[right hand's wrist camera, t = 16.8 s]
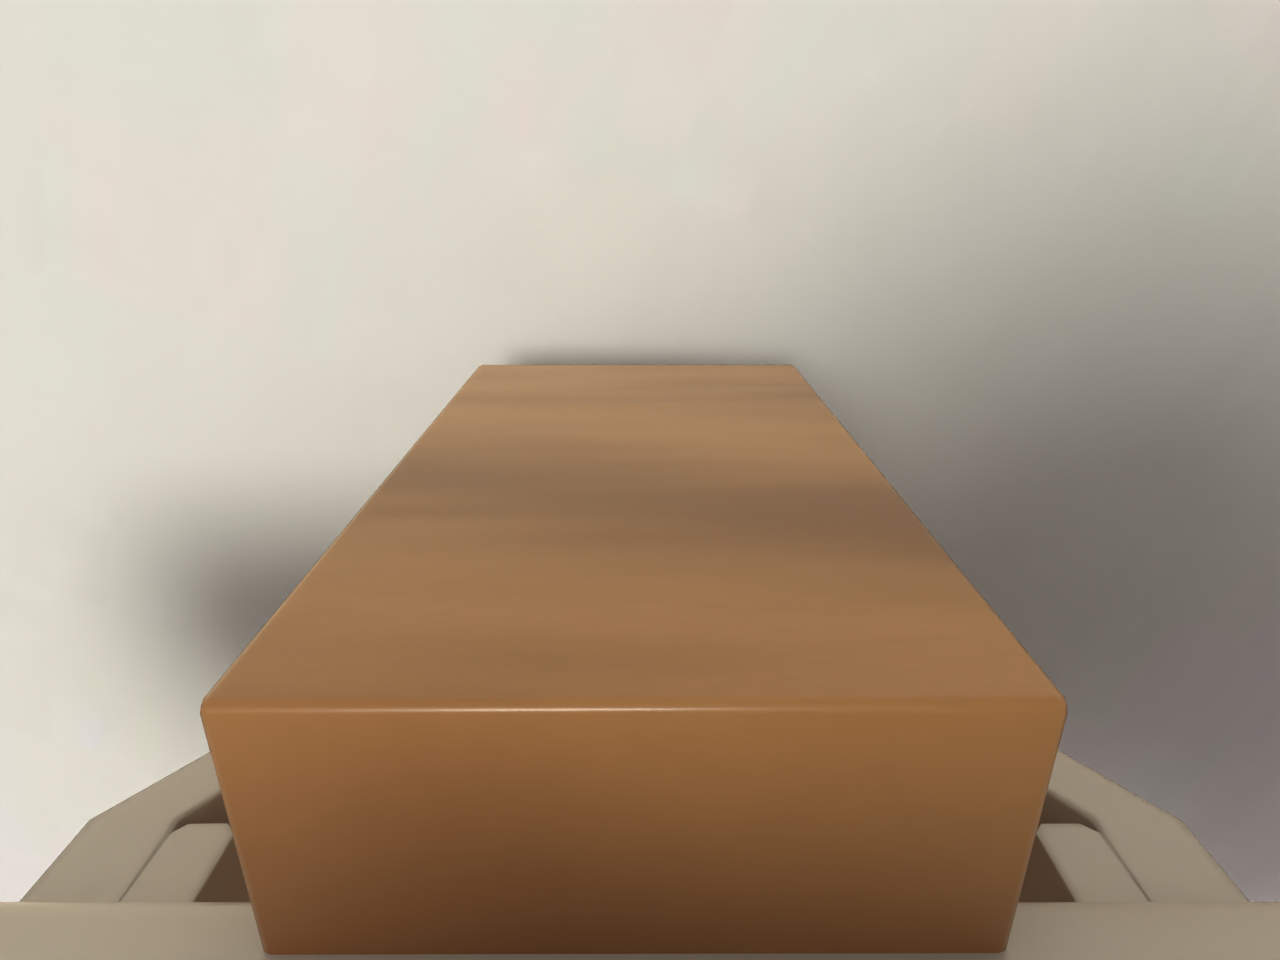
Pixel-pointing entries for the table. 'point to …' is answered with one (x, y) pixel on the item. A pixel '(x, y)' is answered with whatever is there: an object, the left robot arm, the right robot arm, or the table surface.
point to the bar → (634, 693)
